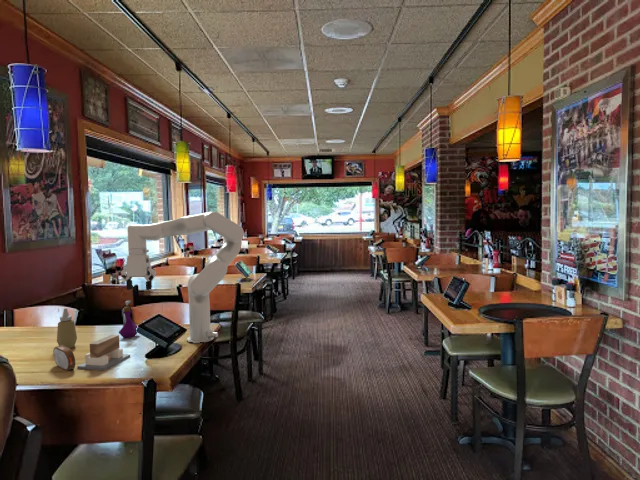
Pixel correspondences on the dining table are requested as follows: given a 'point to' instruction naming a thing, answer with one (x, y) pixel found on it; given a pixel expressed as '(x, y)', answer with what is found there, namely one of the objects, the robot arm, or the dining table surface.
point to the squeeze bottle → (66, 331)
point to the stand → (104, 360)
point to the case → (104, 346)
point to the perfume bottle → (128, 324)
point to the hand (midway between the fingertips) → (139, 289)
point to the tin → (64, 357)
